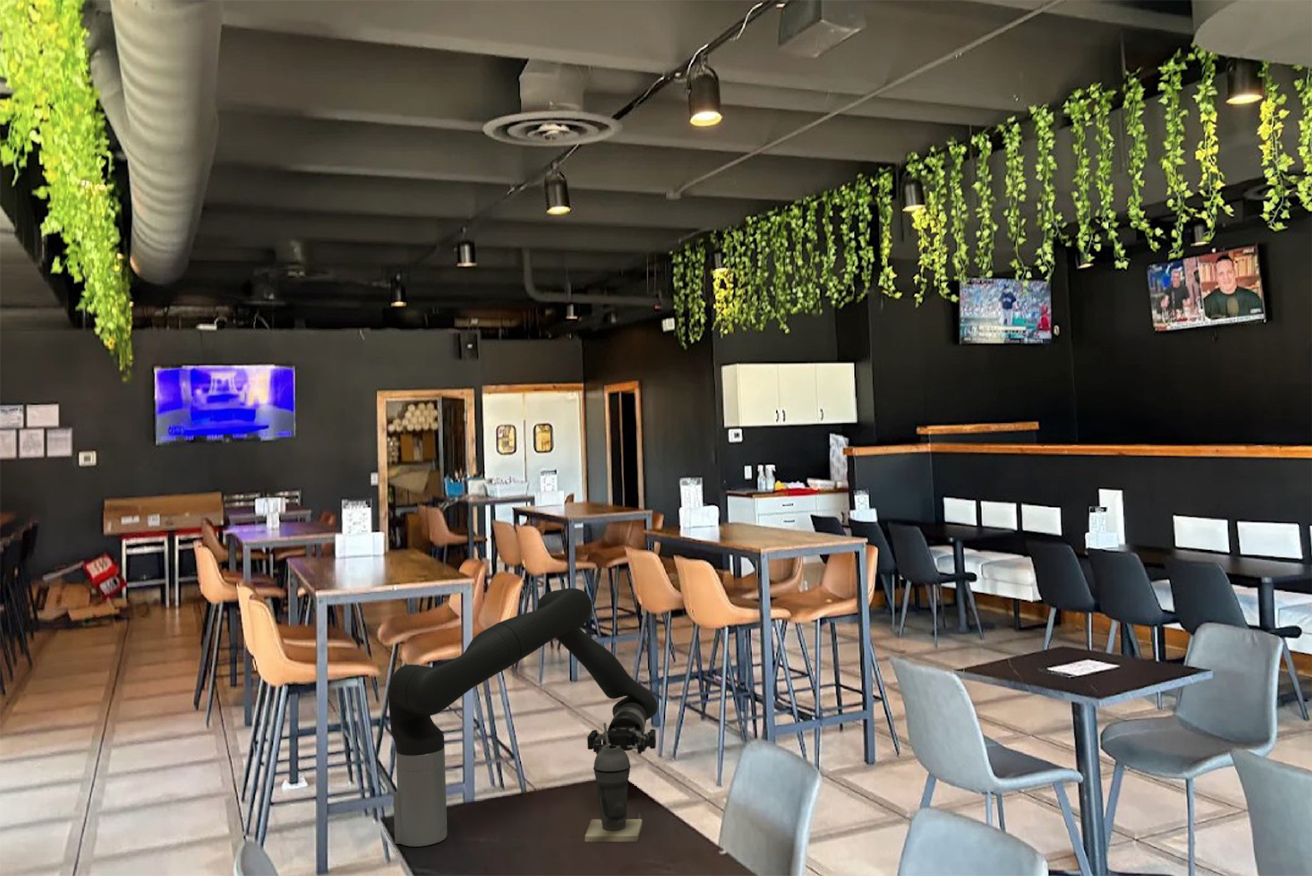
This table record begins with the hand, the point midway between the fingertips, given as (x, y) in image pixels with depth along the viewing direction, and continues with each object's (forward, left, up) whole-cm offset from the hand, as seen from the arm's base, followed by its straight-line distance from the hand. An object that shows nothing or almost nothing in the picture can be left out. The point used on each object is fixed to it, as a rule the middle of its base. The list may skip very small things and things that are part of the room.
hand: (618, 749), depth 208 cm
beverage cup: (0, -10, -12) cm, 16 cm away
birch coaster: (0, -10, -13) cm, 17 cm away
